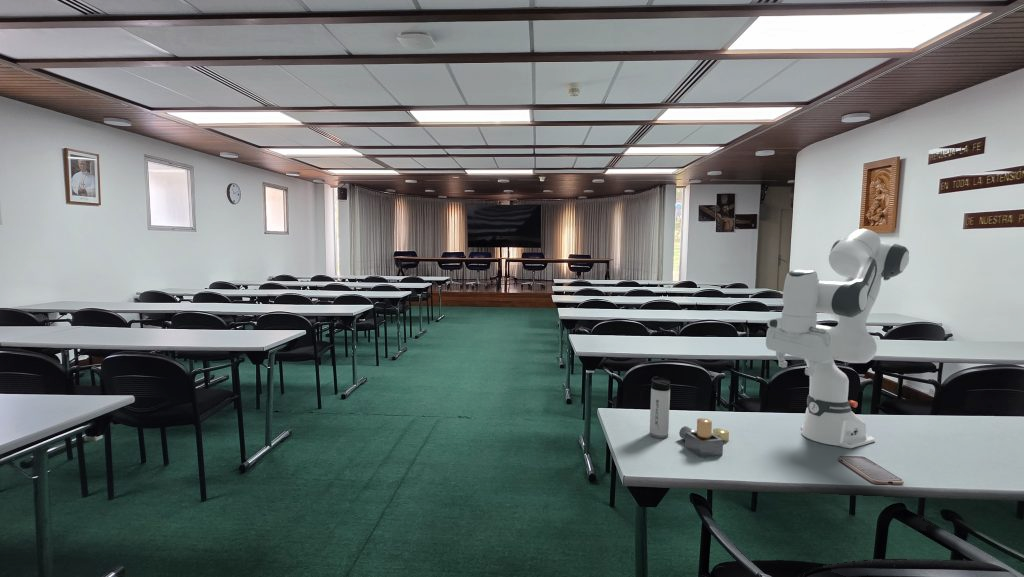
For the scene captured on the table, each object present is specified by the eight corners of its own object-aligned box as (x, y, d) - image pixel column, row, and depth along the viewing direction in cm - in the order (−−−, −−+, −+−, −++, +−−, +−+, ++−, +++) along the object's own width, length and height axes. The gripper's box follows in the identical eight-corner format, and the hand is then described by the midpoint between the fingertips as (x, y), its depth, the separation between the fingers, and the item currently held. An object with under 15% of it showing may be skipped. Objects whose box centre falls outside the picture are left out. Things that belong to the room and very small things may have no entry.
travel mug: (660, 430, 167) (662, 375, 166) (672, 437, 161) (674, 380, 160) (645, 432, 166) (647, 377, 164) (656, 439, 159) (658, 382, 158)
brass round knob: (721, 436, 163) (722, 427, 163) (731, 441, 158) (732, 433, 158) (709, 437, 162) (709, 429, 162) (719, 443, 157) (719, 434, 157)
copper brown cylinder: (705, 447, 153) (706, 417, 153) (713, 453, 149) (714, 422, 148) (693, 448, 152) (694, 418, 151) (701, 454, 148) (702, 423, 147)
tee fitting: (694, 437, 161) (695, 423, 161) (722, 454, 148) (723, 439, 147) (674, 439, 159) (675, 425, 159) (700, 457, 146) (701, 441, 145)
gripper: (839, 330, 128) (836, 379, 129) (779, 319, 148) (777, 362, 149) (821, 331, 127) (817, 381, 128) (763, 320, 146) (760, 363, 147)
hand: (795, 370), depth 138 cm, fingers open, 8 cm apart
